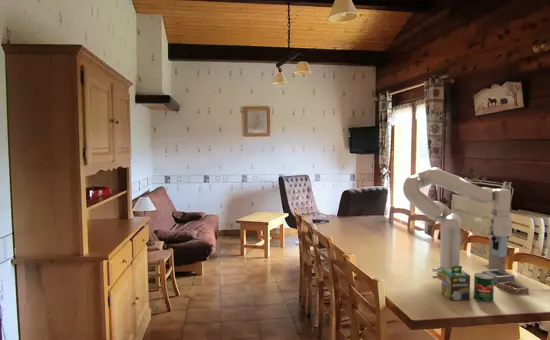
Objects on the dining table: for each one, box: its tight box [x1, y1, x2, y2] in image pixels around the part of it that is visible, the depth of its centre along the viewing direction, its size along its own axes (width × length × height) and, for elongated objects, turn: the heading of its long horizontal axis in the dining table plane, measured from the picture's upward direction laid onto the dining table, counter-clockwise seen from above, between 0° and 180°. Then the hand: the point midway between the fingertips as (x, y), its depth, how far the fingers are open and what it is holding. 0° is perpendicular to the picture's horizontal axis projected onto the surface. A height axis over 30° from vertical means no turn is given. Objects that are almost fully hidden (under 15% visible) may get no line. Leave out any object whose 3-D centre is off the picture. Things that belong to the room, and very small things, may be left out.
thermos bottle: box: [487, 237, 506, 272], centre depth 218 cm, size 8×8×28 cm
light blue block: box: [491, 236, 508, 258], centre depth 200 cm, size 4×6×10 cm, turn 13°
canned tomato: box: [473, 272, 495, 304], centre depth 178 cm, size 8×8×11 cm
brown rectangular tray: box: [496, 281, 529, 295], centre depth 189 cm, size 8×10×2 cm
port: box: [481, 269, 515, 285], centre depth 201 cm, size 10×10×4 cm
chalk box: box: [441, 265, 471, 301], centre depth 181 cm, size 9×9×15 cm
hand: (498, 248), depth 200 cm, fingers closed on light blue block, 3 cm apart
